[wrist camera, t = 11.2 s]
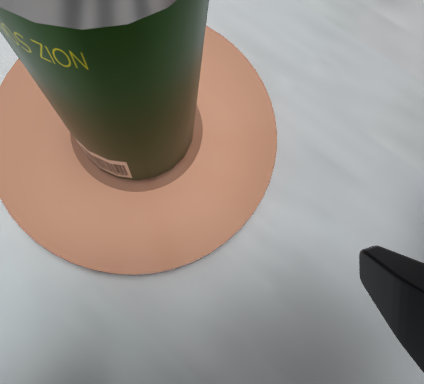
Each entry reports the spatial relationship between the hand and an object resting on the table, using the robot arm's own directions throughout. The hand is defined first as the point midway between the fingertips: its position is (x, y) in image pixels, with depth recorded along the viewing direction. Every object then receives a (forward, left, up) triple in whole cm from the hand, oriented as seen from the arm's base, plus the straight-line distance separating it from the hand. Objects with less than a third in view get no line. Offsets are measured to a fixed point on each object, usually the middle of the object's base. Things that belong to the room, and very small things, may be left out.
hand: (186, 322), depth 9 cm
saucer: (+7, +5, -9) cm, 13 cm away
